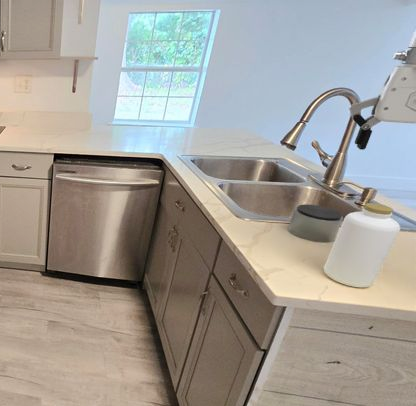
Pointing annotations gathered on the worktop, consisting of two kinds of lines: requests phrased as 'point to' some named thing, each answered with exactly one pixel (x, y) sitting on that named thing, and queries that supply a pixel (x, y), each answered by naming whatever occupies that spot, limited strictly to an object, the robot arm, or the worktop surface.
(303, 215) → the grey cylinder
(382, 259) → the white bottle
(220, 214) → the worktop surface
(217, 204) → the worktop surface
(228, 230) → the worktop surface
